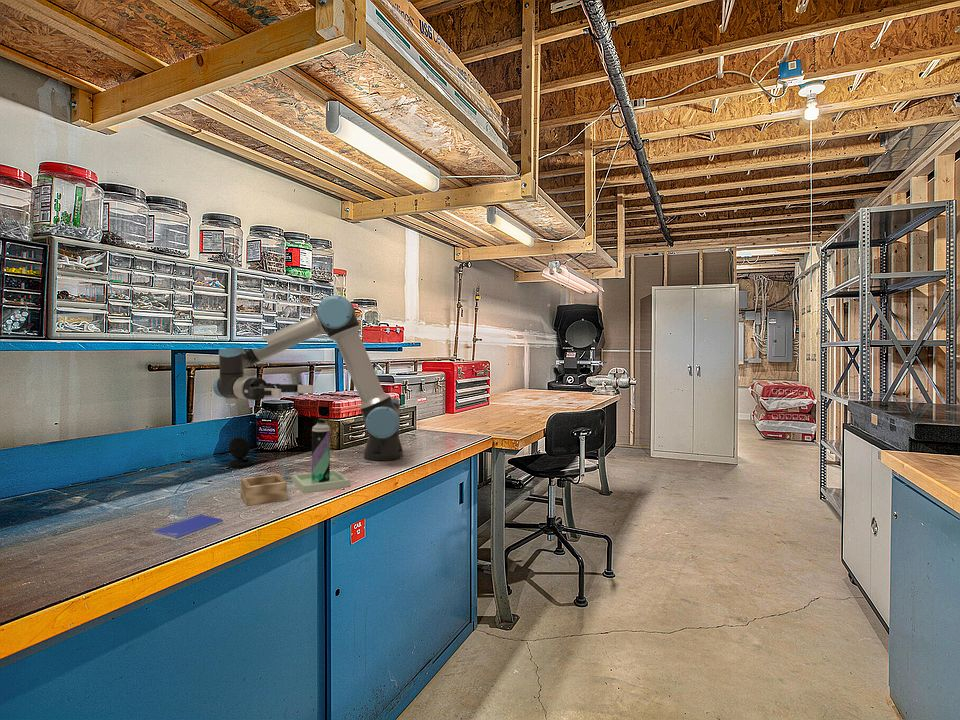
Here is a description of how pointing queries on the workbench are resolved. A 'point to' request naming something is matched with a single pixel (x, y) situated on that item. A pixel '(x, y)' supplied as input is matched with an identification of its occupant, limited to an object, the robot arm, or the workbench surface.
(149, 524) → the workbench surface
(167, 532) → the hard drive
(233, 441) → the webcam
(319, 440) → the spray can
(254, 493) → the wooden storage crate
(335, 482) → the tray
